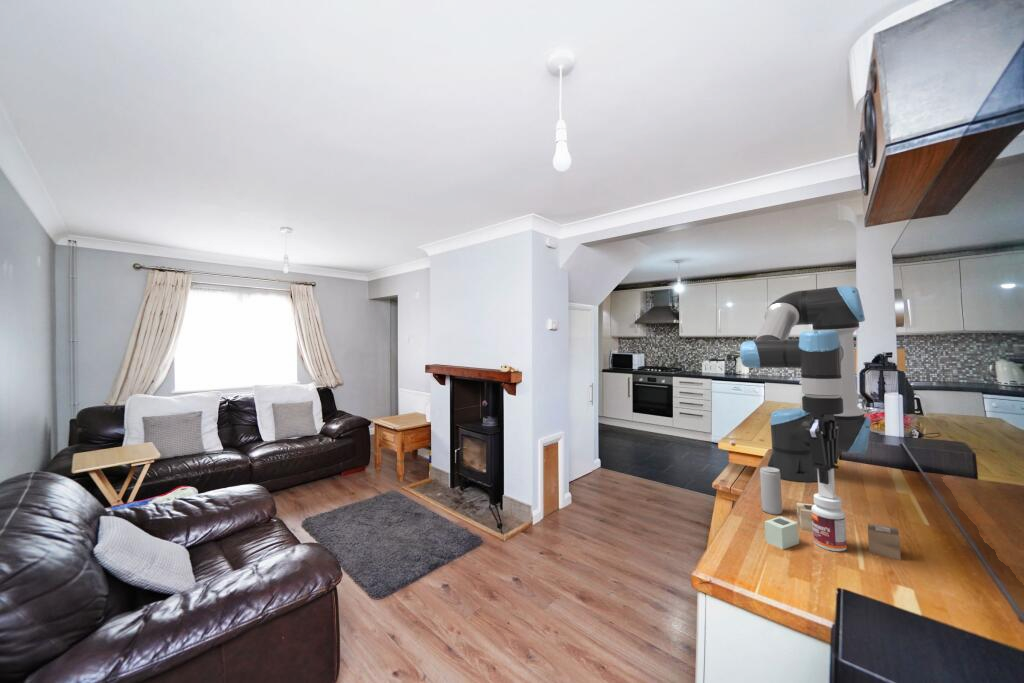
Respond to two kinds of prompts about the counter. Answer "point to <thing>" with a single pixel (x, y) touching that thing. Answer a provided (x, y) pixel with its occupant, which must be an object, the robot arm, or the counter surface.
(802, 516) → the beech block
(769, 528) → the sage block
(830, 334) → the robot arm
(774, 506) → the beverage can
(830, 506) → the pill bottle
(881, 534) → the walnut block
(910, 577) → the counter surface
